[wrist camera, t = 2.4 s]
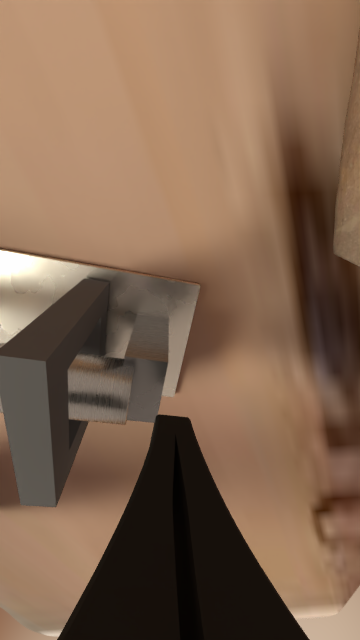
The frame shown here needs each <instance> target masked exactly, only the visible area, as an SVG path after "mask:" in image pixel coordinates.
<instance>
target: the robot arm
mask: <svg viewBox="0 0 360 640" xmlns="http://www.w3.org/2000/svg"><path fill="white" fill-rule="evenodd" d="M57 640H309V639H308V637H307V636H306V634H305V633H304V632H303V630H302V628H301V627H300V626H299V624H298V623H297V621H296V620H295V618H294V617H293V615H292V614H291V612H290V611H289V610H288V608H287V606H286V605H285V603H284V602H283V600H282V599H281V597H280V596H279V594H278V593H277V591H276V589H275V588H274V586H273V585H272V583H271V582H270V580H269V579H268V577H267V575H266V574H265V572H264V571H263V569H262V568H261V566H260V565H259V563H258V561H257V560H256V558H255V556H254V555H253V553H252V551H251V550H250V548H249V546H248V544H247V543H246V541H245V539H244V538H243V536H242V534H241V532H240V531H239V529H238V527H237V525H236V523H235V522H234V520H233V518H232V516H231V514H230V512H229V510H228V508H227V506H226V504H225V502H224V500H223V498H222V496H221V494H220V492H219V490H218V488H217V486H216V484H215V482H214V480H213V478H212V475H211V473H210V471H209V468H208V466H207V464H206V462H205V459H204V457H203V454H202V452H201V449H200V447H199V444H198V442H197V439H196V436H195V433H194V430H193V427H192V424H191V421H190V419H189V418H188V417H178V416H169V415H157V416H156V418H155V423H154V427H153V432H152V437H151V442H150V447H149V450H148V453H147V456H146V459H145V462H144V465H143V468H142V470H141V473H140V475H139V478H138V480H137V483H136V485H135V488H134V490H133V493H132V495H131V497H130V500H129V502H128V504H127V506H126V509H125V511H124V513H123V515H122V517H121V519H120V521H119V524H118V526H117V528H116V530H115V532H114V534H113V536H112V538H111V540H110V542H109V544H108V546H107V548H106V550H105V552H104V554H103V556H102V558H101V560H100V562H99V564H98V566H97V568H96V570H95V572H94V574H93V575H92V577H91V579H90V581H89V583H88V585H87V587H86V588H85V590H84V592H83V594H82V596H81V598H80V599H79V601H78V603H77V605H76V607H75V609H74V610H73V612H72V614H71V616H70V618H69V620H68V621H67V623H66V625H65V627H64V629H63V630H62V632H61V634H60V636H59V638H58V639H57Z"/></svg>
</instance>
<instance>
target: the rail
mask: <svg viewBox="0 0 360 640" xmlns="http://www.w3.org/2000/svg"><path fill="white" fill-rule="evenodd" d="M84 278H85V279H91V280H97V281H103V282H109V293H108V309H107V325H106V342H105V356H99V355H92V354H84V353H78V354H77V356H76V357H75V359H74V361H73V362H72V364H71V365H70V367H69V369H68V408H69V419H71V420H81V421H91V422H101V423H111V424H121V425H126V422H127V420H132V421H142V422H152V423H155V418H156V416H157V415H158V410H159V405H160V400H161V396H167V397H174V395H175V391H176V386H177V382H178V378H179V374H180V370H181V365H182V361H183V357H184V353H185V349H186V344H187V340H188V336H189V332H190V328H191V323H192V319H193V315H194V311H195V307H196V303H197V298H198V294H199V290H200V286H201V285H200V284H199V283H194V282H188V281H182V280H177V279H171V278H165V277H160V276H154V275H148V274H143V273H137V272H131V271H126V270H120V269H114V268H109V267H103V266H97V265H92V264H86V263H80V262H74V261H69V260H63V259H57V258H52V257H46V256H40V255H35V254H29V253H23V252H18V251H12V250H6V249H1V248H0V348H1V347H2V346H3V345H5V344H6V343H7V342H8V341H9V340H11V339H12V338H13V337H14V336H15V335H17V334H18V333H19V332H20V331H21V330H23V329H24V328H25V327H26V326H27V325H29V324H30V323H31V322H32V321H33V320H35V319H36V318H37V317H38V316H39V315H41V314H42V313H43V312H44V311H45V310H47V309H48V308H49V307H50V306H51V305H53V304H54V303H55V302H56V301H57V300H59V299H60V298H61V297H62V296H63V295H65V294H66V293H67V292H68V291H69V290H71V289H72V288H73V287H74V286H75V285H77V284H78V283H79V282H80V281H81V280H83V279H84ZM0 413H3V408H2V403H1V398H0Z"/></svg>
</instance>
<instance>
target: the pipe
mask: <svg viewBox="0 0 360 640" xmlns="http://www.w3.org/2000/svg"><path fill="white" fill-rule="evenodd" d="M333 251H334V254H335V255H337V256H338V257H342V258H343V259H345V260H348V261H349V262H351V263H353V264H355V265H357V266H359V267H360V30H359V36H358V46H357V53H356V60H355V67H354V75H353V82H352V88H351V93H350V98H349V103H348V109H347V115H346V121H345V128H344V136H343V145H342V154H341V161H340V171H339V182H338V189H337V196H336V206H335V228H334V241H333Z"/></svg>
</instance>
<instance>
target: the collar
mask: <svg viewBox="0 0 360 640" xmlns="http://www.w3.org/2000/svg"><path fill="white" fill-rule="evenodd" d="M108 293H109V282H103V281H97V280H91V279H85V278H84V279H83V280H81V281H80V282H79V283H78V284H77V285H75V286H74V287H73V288H72V289H71V290H69V291H68V292H67V293H66V294H65V295H63V296H62V297H61V298H60V299H59V300H57V301H56V302H55V303H54V304H53V305H51V306H50V307H49V308H48V309H47V310H45V311H44V312H43V313H42V314H41V315H39V316H38V317H37V318H36V319H35V320H33V321H32V322H31V323H30V324H29V325H27V326H26V327H25V328H24V329H23V330H21V331H20V332H19V333H18V334H17V335H15V336H14V337H13V338H12V339H11V340H9V341H8V342H7V343H6V344H5V345H3V346H2V347H1V348H0V398H1V403H2V408H3V414H4V419H5V424H6V429H7V435H8V440H9V445H10V451H11V456H12V461H13V466H14V472H15V477H16V482H17V487H18V493H19V498H20V503H21V505H26V506H44V507H56V506H57V503H58V501H59V498H60V496H61V493H62V490H63V488H64V485H65V482H66V480H67V477H68V474H69V472H70V469H71V467H72V464H73V461H74V459H75V456H76V453H77V451H78V448H79V445H80V443H81V440H82V438H83V435H84V432H85V430H86V427H87V424H88V422H89V421H81V420H71V419H69V408H68V369H69V367H70V365H71V364H72V362H73V361H74V359H75V357H76V356H77V354H78V353H84V354H92V355H99V356H105V342H106V325H107V309H108Z"/></svg>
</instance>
